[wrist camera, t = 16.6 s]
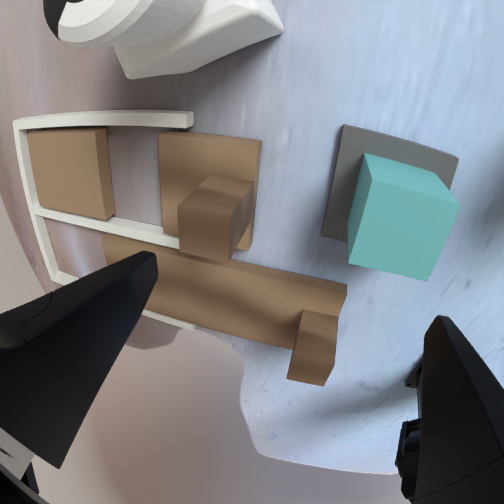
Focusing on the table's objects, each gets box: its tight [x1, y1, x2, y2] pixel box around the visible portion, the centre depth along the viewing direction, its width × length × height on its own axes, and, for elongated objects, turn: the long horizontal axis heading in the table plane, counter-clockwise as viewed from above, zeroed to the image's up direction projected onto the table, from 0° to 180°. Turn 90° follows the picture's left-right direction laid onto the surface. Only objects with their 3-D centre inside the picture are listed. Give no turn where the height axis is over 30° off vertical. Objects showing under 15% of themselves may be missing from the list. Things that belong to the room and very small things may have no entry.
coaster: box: [321, 124, 459, 242], centre depth 19 cm, size 8×8×1 cm
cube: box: [347, 153, 460, 281], centre depth 17 cm, size 5×5×5 cm
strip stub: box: [158, 131, 262, 263], centre depth 20 cm, size 8×7×6 cm
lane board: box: [13, 110, 197, 331], centre depth 26 cm, size 21×21×2 cm
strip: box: [102, 232, 347, 386], centre depth 25 cm, size 8×22×6 cm, turn 85°
